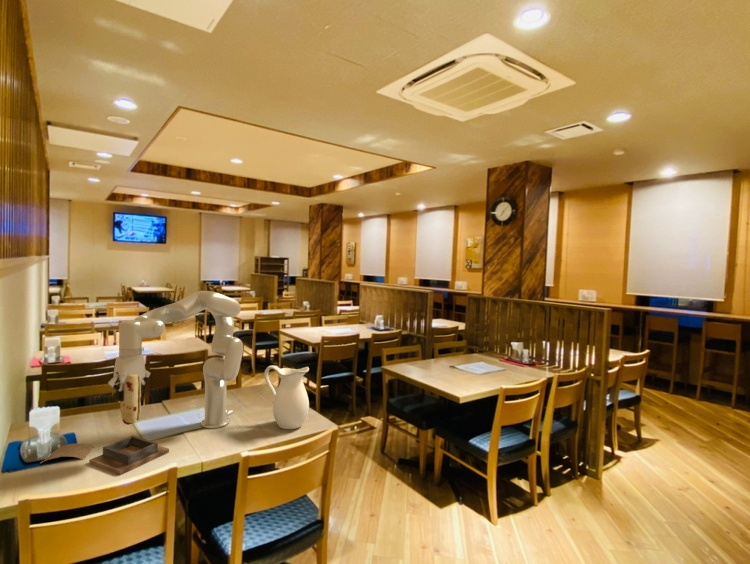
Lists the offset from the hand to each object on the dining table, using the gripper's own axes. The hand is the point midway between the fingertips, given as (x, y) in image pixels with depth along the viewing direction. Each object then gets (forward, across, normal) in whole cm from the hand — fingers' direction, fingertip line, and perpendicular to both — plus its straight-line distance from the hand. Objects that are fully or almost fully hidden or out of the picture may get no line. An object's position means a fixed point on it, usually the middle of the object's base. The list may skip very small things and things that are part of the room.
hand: (130, 397), depth 157 cm
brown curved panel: (+25, +10, -23) cm, 35 cm away
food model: (+10, 0, 0) cm, 10 cm away
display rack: (+24, 0, 0) cm, 24 cm away
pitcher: (+24, -56, +32) cm, 69 cm away
